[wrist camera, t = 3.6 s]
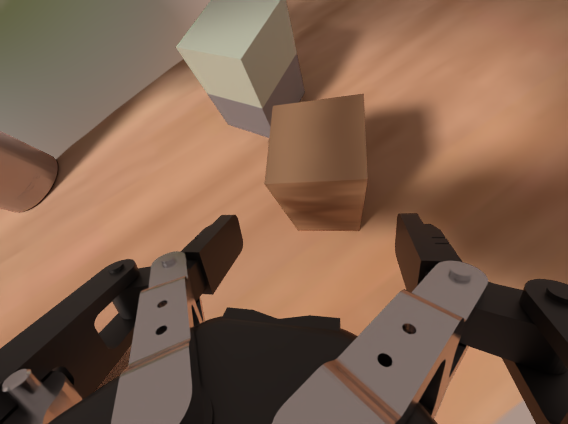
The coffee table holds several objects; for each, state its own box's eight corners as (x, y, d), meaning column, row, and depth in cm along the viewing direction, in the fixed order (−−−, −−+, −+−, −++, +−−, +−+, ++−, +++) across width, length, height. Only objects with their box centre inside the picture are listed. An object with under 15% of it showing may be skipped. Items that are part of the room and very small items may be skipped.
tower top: (207, 93, 25) (175, 47, 20) (241, 44, 26) (218, -10, 22) (262, 108, 22) (240, 59, 18) (296, 52, 24) (284, -7, 19)
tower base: (228, 125, 29) (206, 93, 25) (256, 81, 31) (240, 43, 26) (276, 141, 27) (262, 108, 22) (305, 92, 28) (296, 52, 24)
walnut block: (298, 230, 23) (264, 184, 14) (300, 178, 24) (272, 105, 15) (359, 230, 21) (367, 178, 12) (357, 175, 23) (363, 93, 14)
